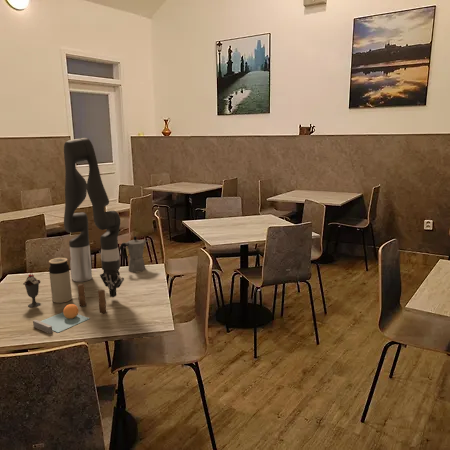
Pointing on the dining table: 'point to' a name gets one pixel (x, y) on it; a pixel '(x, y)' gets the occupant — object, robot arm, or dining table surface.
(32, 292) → the sundae
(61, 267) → the travel mug
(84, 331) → the dining table surface
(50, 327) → the wall
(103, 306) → the post outer
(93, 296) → the dining table surface
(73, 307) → the ball
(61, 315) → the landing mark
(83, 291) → the post inner
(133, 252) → the coffeepot
